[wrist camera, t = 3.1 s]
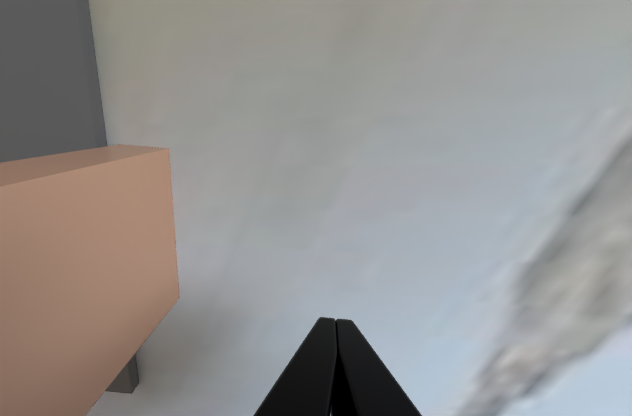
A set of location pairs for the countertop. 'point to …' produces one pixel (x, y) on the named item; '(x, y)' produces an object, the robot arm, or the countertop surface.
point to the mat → (51, 92)
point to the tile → (81, 272)
